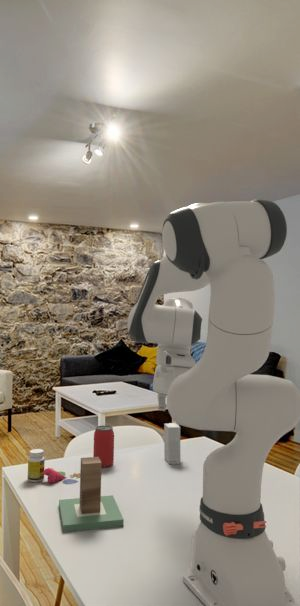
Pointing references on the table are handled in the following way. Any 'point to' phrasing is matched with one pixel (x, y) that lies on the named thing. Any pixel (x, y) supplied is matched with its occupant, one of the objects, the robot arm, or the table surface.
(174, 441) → the skincare box
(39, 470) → the supplement bottle
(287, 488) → the table surface
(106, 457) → the beer can
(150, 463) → the table surface
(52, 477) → the toy pieces
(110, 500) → the plate
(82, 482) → the walnut block
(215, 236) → the robot arm
